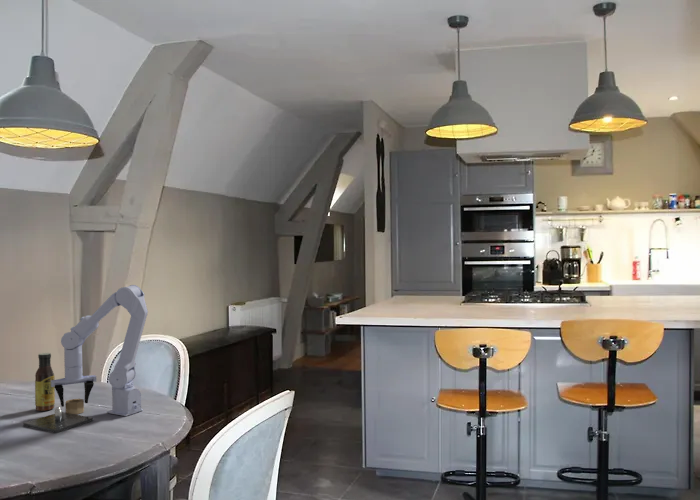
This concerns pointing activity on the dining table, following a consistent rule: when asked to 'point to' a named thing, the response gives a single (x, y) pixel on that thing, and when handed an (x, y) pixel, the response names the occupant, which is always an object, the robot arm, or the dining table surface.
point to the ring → (75, 406)
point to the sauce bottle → (44, 384)
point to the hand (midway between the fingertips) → (74, 404)
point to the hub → (58, 421)
